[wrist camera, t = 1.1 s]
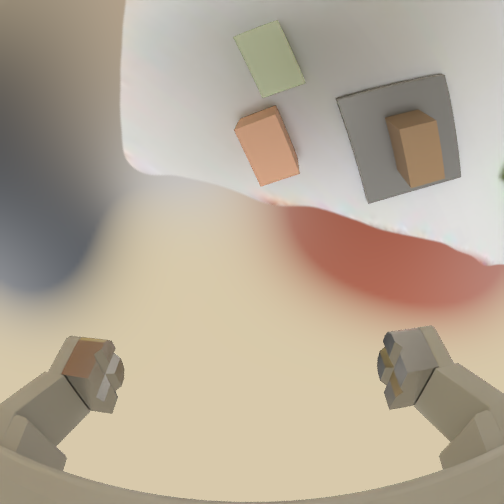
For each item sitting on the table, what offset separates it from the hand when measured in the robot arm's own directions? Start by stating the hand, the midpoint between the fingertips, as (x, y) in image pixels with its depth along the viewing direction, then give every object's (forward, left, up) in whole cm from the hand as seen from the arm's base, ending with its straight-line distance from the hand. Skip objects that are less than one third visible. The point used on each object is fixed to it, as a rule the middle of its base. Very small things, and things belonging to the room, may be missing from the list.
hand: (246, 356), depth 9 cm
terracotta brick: (+2, +3, -31) cm, 31 cm away
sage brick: (-2, -6, -31) cm, 32 cm away
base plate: (-14, +8, -31) cm, 35 cm away
